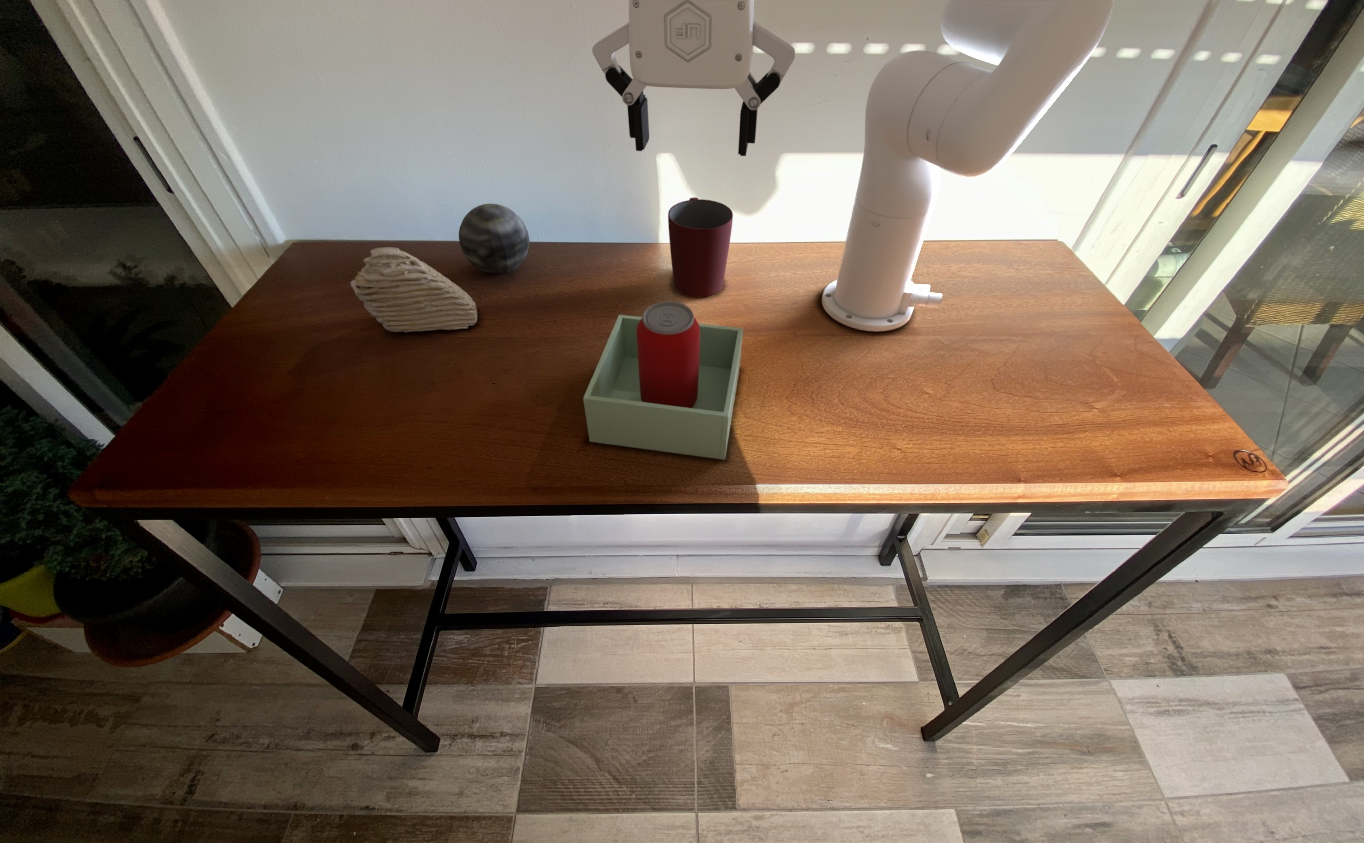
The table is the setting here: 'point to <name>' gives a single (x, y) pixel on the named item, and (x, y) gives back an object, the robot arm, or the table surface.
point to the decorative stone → (494, 238)
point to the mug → (699, 245)
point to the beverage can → (668, 355)
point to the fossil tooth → (411, 294)
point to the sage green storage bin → (657, 426)
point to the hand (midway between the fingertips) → (692, 148)
